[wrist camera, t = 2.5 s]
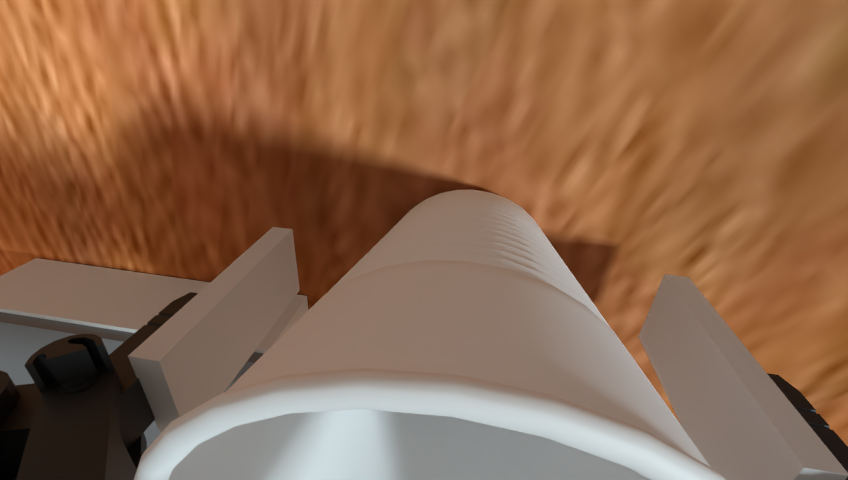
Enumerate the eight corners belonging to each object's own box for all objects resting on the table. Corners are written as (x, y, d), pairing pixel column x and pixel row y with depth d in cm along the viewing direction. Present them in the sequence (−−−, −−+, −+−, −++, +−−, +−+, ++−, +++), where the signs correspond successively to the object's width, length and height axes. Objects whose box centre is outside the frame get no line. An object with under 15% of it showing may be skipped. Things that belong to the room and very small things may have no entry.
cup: (427, 376, 19) (362, 725, 9) (300, 211, 16) (3, 489, 6) (637, 306, 15) (879, 753, 6) (530, 74, 12) (681, 227, 3)
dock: (35, 258, 19) (-123, 336, 14) (306, 295, 18) (235, 398, 13) (124, 438, 26) (37, 534, 21) (326, 476, 24) (284, 590, 19)
